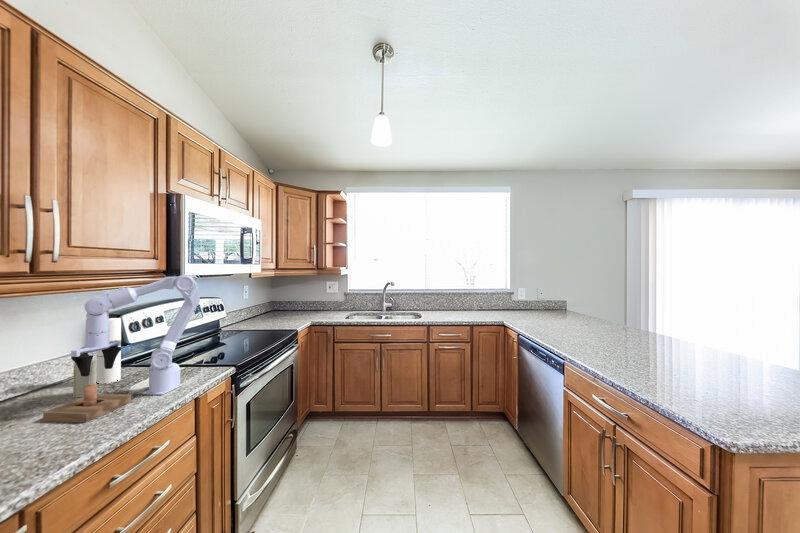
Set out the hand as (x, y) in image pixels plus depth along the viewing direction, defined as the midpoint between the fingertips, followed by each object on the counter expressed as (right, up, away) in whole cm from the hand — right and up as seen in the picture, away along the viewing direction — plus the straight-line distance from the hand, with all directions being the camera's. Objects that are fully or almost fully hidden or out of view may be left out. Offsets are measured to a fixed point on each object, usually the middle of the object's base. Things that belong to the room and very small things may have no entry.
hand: (97, 372), depth 104 cm
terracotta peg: (+4, -10, -6) cm, 13 cm away
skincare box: (-11, -11, +7) cm, 17 cm away
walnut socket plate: (+4, -10, -6) cm, 13 cm away
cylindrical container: (-16, -11, +20) cm, 28 cm away
